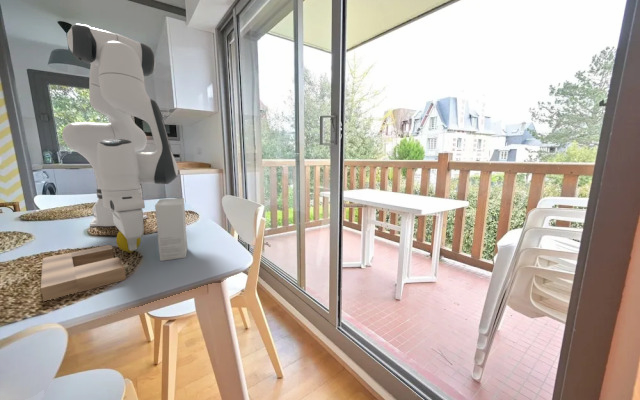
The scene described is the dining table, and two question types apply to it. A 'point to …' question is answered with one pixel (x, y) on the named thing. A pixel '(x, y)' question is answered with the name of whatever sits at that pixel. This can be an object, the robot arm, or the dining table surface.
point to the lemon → (125, 242)
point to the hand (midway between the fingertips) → (129, 246)
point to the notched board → (80, 271)
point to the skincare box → (171, 228)
